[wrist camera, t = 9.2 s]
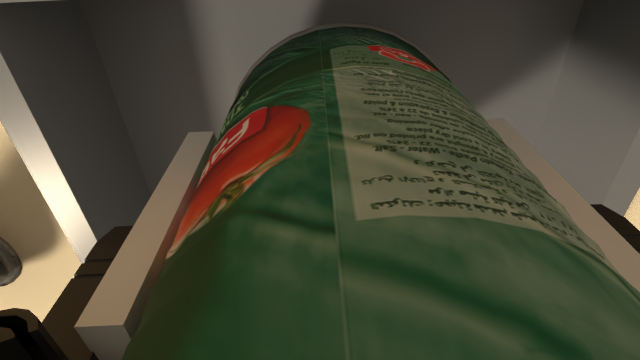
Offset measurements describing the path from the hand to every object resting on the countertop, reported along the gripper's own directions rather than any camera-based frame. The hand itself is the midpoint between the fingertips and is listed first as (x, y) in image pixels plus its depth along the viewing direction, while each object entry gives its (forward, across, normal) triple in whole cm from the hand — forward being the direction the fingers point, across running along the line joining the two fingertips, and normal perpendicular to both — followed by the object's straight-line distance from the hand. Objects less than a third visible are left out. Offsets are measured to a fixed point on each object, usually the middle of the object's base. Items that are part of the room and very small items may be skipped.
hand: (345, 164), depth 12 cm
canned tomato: (+2, 0, 0) cm, 2 cm away
